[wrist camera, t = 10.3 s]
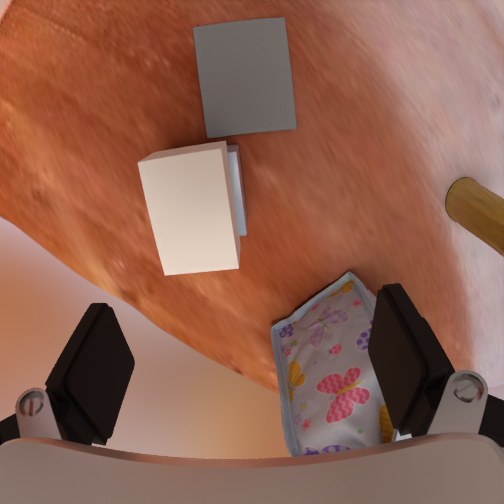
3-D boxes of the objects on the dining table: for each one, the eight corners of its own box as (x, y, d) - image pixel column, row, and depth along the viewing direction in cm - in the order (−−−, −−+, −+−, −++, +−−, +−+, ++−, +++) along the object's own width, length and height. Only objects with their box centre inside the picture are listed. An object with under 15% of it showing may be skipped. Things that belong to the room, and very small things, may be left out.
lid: (154, 152, 26) (137, 162, 22) (225, 140, 26) (221, 148, 22) (175, 251, 31) (164, 275, 27) (240, 244, 31) (238, 268, 27)
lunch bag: (428, 344, 45) (493, 478, 21) (345, 395, 50) (375, 533, 26) (368, 251, 37) (475, 443, 13) (262, 325, 42) (269, 524, 18)
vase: (454, 170, 32) (533, 214, 19) (485, 185, 32) (559, 230, 20) (438, 215, 34) (507, 273, 22) (469, 226, 35) (535, 282, 22)
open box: (162, 154, 31) (148, 164, 27) (238, 143, 31) (236, 151, 27) (176, 224, 35) (165, 243, 31) (247, 216, 35) (246, 235, 30)
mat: (193, 28, 25) (192, 27, 25) (283, 18, 25) (284, 17, 24) (207, 138, 31) (207, 138, 30) (296, 128, 30) (296, 129, 30)
